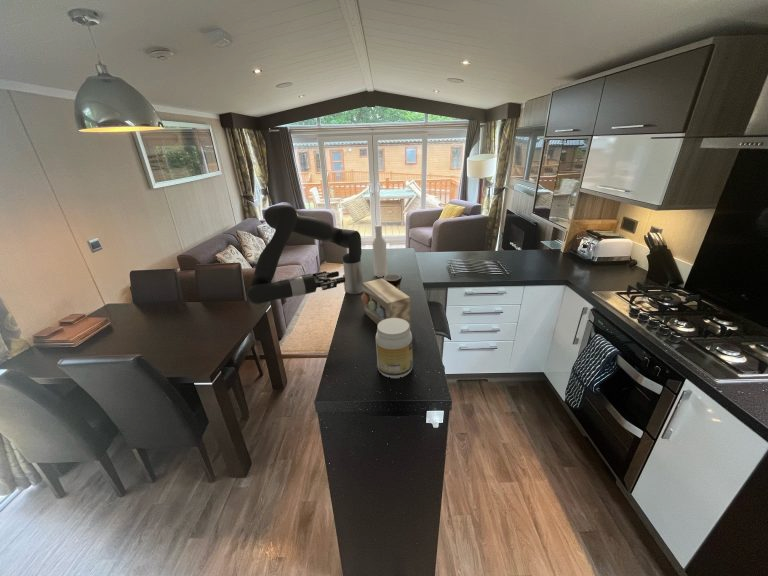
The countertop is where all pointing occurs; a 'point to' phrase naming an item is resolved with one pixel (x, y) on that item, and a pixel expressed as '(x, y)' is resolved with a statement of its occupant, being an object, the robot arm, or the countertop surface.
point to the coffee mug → (393, 280)
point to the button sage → (372, 305)
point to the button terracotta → (365, 299)
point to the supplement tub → (394, 348)
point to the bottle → (379, 253)
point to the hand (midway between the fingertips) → (341, 276)
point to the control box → (386, 300)
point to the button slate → (380, 313)
